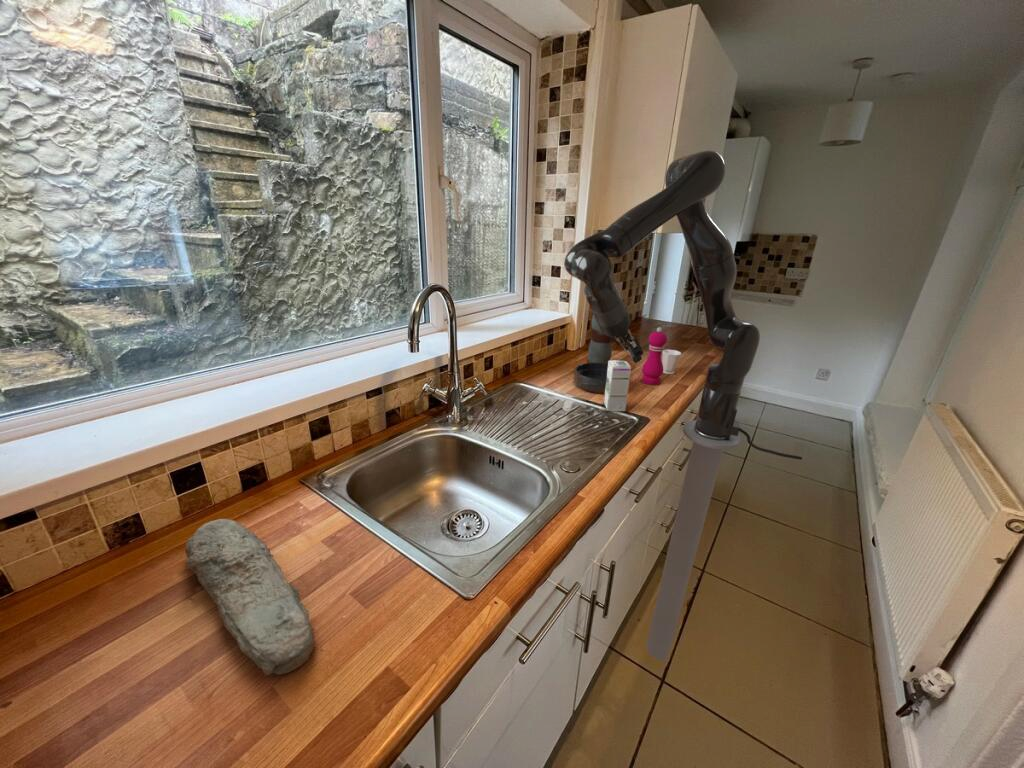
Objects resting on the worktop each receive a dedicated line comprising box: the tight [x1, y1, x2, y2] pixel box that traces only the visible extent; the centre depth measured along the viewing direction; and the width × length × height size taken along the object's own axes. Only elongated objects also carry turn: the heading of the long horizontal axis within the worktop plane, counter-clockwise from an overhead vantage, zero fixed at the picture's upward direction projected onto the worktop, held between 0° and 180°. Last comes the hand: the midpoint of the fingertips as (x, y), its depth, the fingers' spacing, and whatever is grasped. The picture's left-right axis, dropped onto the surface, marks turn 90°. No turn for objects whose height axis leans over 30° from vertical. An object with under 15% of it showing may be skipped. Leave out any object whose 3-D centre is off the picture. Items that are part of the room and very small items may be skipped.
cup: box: [661, 349, 682, 375], centre depth 155 cm, size 7×10×8 cm
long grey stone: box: [184, 518, 315, 676], centre depth 61 cm, size 35×5×10 cm
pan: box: [573, 362, 608, 395], centre depth 141 cm, size 17×17×5 cm
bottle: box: [587, 314, 613, 364], centre depth 159 cm, size 9×9×30 cm
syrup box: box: [603, 359, 632, 412], centre depth 122 cm, size 6×6×14 cm
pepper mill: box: [641, 326, 668, 386], centre depth 142 cm, size 7×7×20 cm
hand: (628, 351), depth 111 cm, fingers open, 8 cm apart
